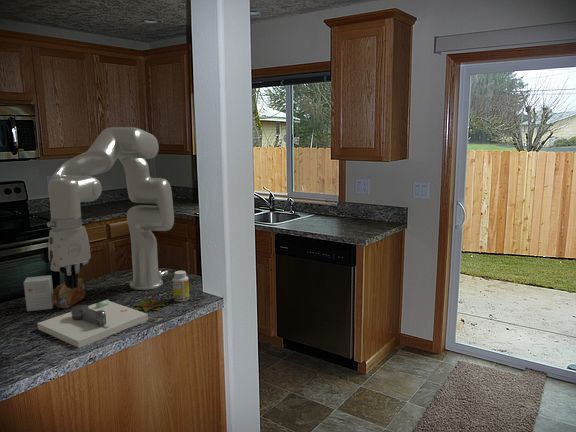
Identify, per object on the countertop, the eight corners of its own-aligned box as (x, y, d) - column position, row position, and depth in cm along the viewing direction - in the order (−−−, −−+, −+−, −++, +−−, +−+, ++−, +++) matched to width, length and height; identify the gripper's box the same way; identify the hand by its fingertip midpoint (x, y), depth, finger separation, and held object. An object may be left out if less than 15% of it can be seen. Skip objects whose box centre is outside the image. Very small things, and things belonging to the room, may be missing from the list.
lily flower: (138, 301, 170) (137, 289, 169) (171, 301, 170) (171, 289, 169) (127, 314, 158) (126, 301, 157) (162, 314, 158) (162, 301, 157)
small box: (55, 303, 166) (52, 274, 165) (52, 309, 161) (49, 279, 159) (29, 306, 164) (26, 277, 162) (26, 311, 159) (23, 282, 157)
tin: (60, 312, 159) (58, 288, 157) (52, 311, 159) (50, 287, 158) (88, 296, 173) (86, 274, 172) (80, 295, 174) (78, 274, 172)
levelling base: (106, 305, 164) (105, 295, 164) (147, 319, 152) (147, 309, 151) (38, 329, 145) (36, 318, 144) (79, 348, 133) (78, 336, 132)
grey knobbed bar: (68, 317, 148) (67, 304, 147) (83, 312, 152) (82, 300, 151) (96, 328, 140) (95, 315, 139) (111, 323, 144) (110, 310, 143)
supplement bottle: (187, 295, 174) (186, 269, 172) (191, 300, 169) (189, 273, 167) (171, 298, 172) (170, 271, 170) (175, 303, 167) (174, 275, 165)
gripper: (47, 229, 122) (53, 297, 125) (99, 221, 134) (103, 283, 137) (32, 226, 126) (38, 292, 129) (83, 218, 138) (88, 278, 141)
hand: (71, 287), depth 133 cm, fingers closed
